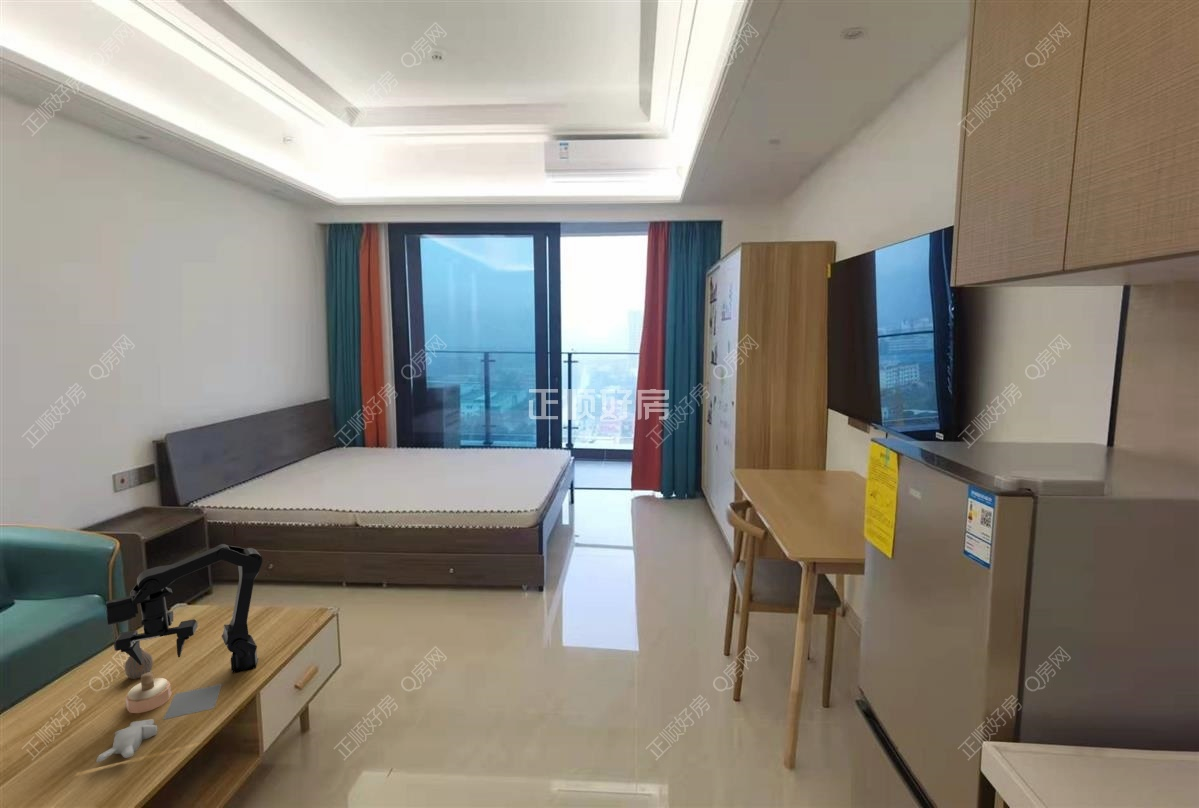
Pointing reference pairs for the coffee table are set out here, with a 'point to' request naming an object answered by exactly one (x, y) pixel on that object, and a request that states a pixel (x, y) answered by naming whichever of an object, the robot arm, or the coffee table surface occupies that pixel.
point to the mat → (193, 701)
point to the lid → (147, 687)
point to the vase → (138, 666)
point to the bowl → (148, 701)
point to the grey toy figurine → (130, 739)
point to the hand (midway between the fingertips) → (160, 660)
